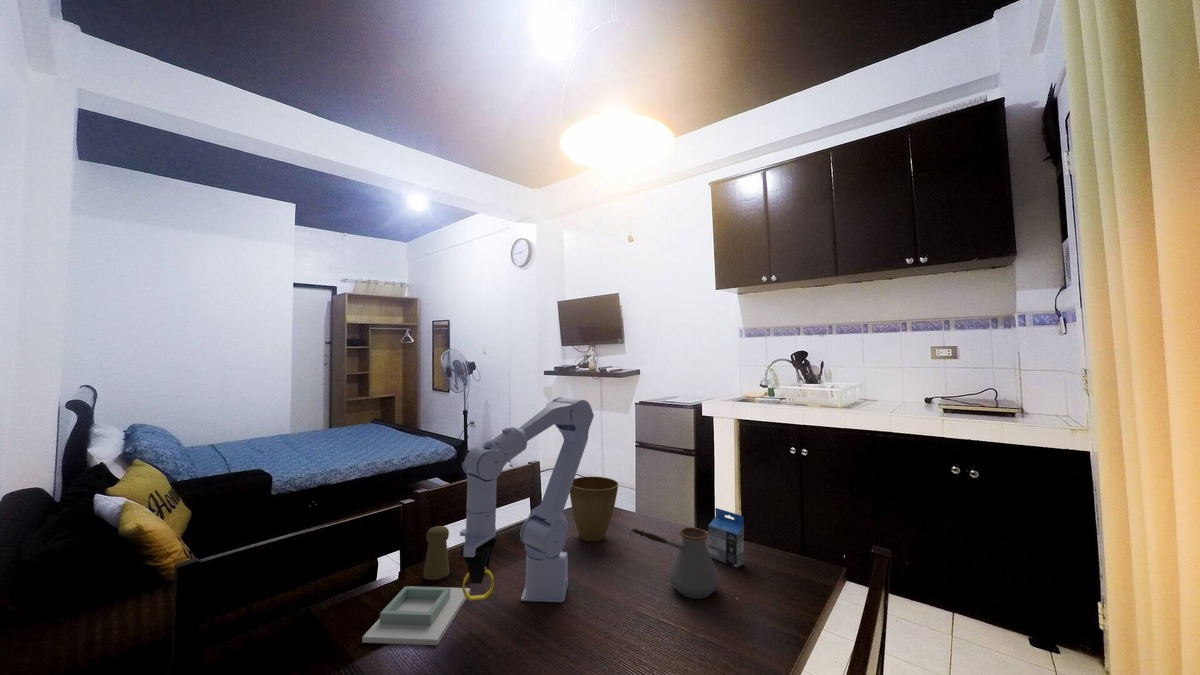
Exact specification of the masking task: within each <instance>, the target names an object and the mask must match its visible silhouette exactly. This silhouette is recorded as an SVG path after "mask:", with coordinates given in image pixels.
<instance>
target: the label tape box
mask: <svg viewBox="0 0 1200 675" xmlns="http://www.w3.org/2000/svg"><path fill="white" fill-rule="evenodd" d="M714 509H715V510H714V511H715V516H714V518H712V521H711V522H710V523H709V524H708V527H707V528H708V529H707V530H708V532H707V533H708V537H707V549H708V552H709V554H710V557H711V559H714V560H716V561H719V562H722V563H724V564H726V565H729V566H732V567H734V568H739V567H741V566H743V565H744V560H745V559H744V558H745V556H744V555H745V554H744V553H745V552H744V551H745V550H744V548H745V546H744V545H745V542H744V541H745V540H744V538H745V537H744V536H745V524H744V523H745V522H744V515H740V514H737V513H734V512H731V511H727V510H724V509H720V508H717V507H715V508H714ZM726 516H727V517H726ZM728 516H730V518H729V517H728ZM732 518H733V519H732Z"/></svg>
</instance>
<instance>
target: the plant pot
mask: <svg viewBox="0 0 1200 675" xmlns="http://www.w3.org/2000/svg"><path fill="white" fill-rule="evenodd" d="M618 489H619V482H618V481H616V480H615V479H612V478H608V477H603V476H581V477H575V478H574V481H573V484H572V487H571V490H570V493H569V498H570V503H571V509H572V514H573V518H574V522H575V526H576V529H577V533H578V535H579V539H581V540H583V541H586V542H592V543H593V542H600V541H602V540H604V539H605V537H606V535H607V532H608V528H609V526H610V524H611V521H612V518H613V513H614V510H615V506H616V500H617V496H618V495H617V494H618V491H619V490H618Z"/></svg>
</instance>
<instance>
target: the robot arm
mask: <svg viewBox="0 0 1200 675" xmlns="http://www.w3.org/2000/svg"><path fill="white" fill-rule="evenodd" d="M594 416H595V414H594V412H593V409H592V405H591V404H590V402H588V401H587V400H585V399H573V398H564V397H559V396H558V397H555V398H554V399H553V400H552V401H549V402H547V403H546V405H545V407H544V408H542V410H540V411H539V412H538V413H536V414H534V416H533V417H532V418H530V419H529V420H527V421H526V422H525V423H524V424H522V425H521V426H520V427H518V428H517V427H514V426H513V427H505V428H502V433H500V434H499V435H498V436H496V437H495V438H493V439H491V440H487V441H486V442H484V445H483V447H481V446H479V447H473V448H472V449H470V450H469V451H468V453H467V454H466V455H465V458H464V461H463V462H461V466H462V470H463V472H464V473H465V474H466V479H467V480H466V482H467V485H466V486H467V487H466V488H467V489H466V518H465V519H466V521H465V528H463V529H461V531H460V532H459V536H460V537H464V544H463V545H462V547H460V554H461V556H462V557H463V559H464V561H465V563H466V567H467V571H468V572H469V580H470V584H480V585H481V584H482V583H483V581H484V578H485V576H487V575H488V574H486V573H485V566H486V567H487V569H488V570H489V568H490V564H491V559H492V555H493V551H494V549H495V546H496V544H497V541H498V540H499V535H498V534H497V527H496V520H497V518H496V517H497V516H496V515H497V513H496V511H497V481H498V480H497V479H498V477H499V476H500V475H501V473H502V472H503V469H504V467H505V466H506V464H508V463H509V462H510V461H511V460H513V459H514V458H515V457H517V456H518V455H519V454H521V453H522V452H524V451H525V450H526V449H527V446H528V441H530V440H532V439H534V438H535V437H536V436H538V435H540V434H542V433H543V432H545V430H548V429H549V428H550V427H553V426H554V425H555V427H556V428H557V429H558V431H559V432H560V433H561V435H562V437H563V443H562V445H561V448H560V450H559V453H558V456H557V459H556V461H555V465H554V467H553V469H552V472H551V475H550V478H549V480H548V484H547V486H546V489H545V491H544V492H545V493H544V494H543V497H542V500H541V502H540V504H539V505H538V506H535V507H534V508H532V509H530V510H531V511H530V513H529V516H528V517H527V518H526V520H525V521H524V522H523V524H522V525H521V528H520V532H519V535H520V536H519V537H520V541H521V542H522V544H524V550H525V551H526V558H525V561H526V562H525V564H526V565H525V586H524V589H523V592H522V594H521V597H520V601H522V602H542V603H543V602H546V603H563V602H565V599H566V595H567V590H568V586H569V578H568V577H569V576H568V572H569V571H568V570H569V566H568V565H569V555H568V552H567V551H563V549H564V547H565V545H566V541H567V530H568V526H569V523H568V520H567V518H566V517H565V514H564V509H565V508H566V504H567V501H568V499H569V497H570V490H571V487H572V484H573V481H574V479H575V478H576V475H577V472H578V469H579V467H580V463H581V460H582V457H583V455H584V452H585V449H586V446H587V444H588V439H589V432H590V428H591V425H592V422H593V419H594Z"/></svg>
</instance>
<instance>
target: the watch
mask: <svg viewBox="0 0 1200 675" xmlns="http://www.w3.org/2000/svg"><path fill="white" fill-rule="evenodd" d="M485 573H486V574H487V575H488V576H489V578H490V579H491V585H490V588H489V590H487V591H486V592H485V593H484V594H478V595H477V594H475V595H471V593H470V594H468V593H467V591H466V589H465V588H466V586H465V585H466V582H467V581H468V579H469V578H470V576H469V571H468V572H467V573H466V574H465V577H464V579H463V581H462V587H461V588H462V589H463V593H464V596H465V597H466V598H467V599H466V600H468V601H478V600H479V601H480V600H487V598H488V597H489V596H490V595H491V594H492V592H493V589H494V588H495V582H494V581H495V580H494V575H493V573H492V572H491V570H489V569H487V567H486V566H485Z"/></svg>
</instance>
